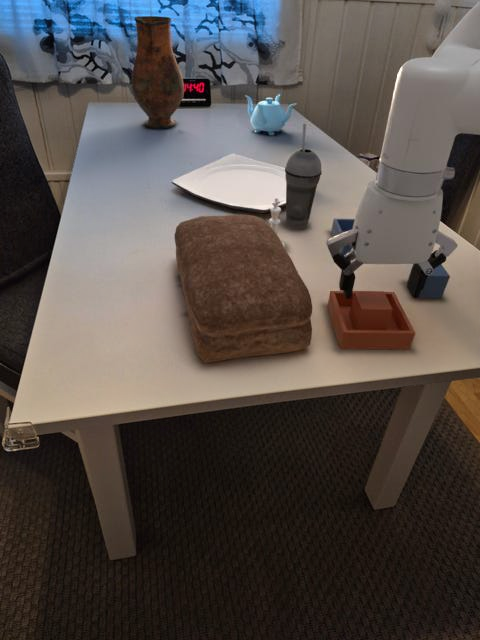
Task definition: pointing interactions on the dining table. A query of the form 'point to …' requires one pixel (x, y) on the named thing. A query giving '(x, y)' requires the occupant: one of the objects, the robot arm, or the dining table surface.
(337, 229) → the slate bin
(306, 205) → the beverage cup
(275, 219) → the chess piece
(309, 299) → the bread
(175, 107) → the brown vase
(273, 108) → the teapot
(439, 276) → the slate block
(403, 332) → the terracotta bin
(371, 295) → the terracotta block
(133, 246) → the dining table surface
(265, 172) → the plate
